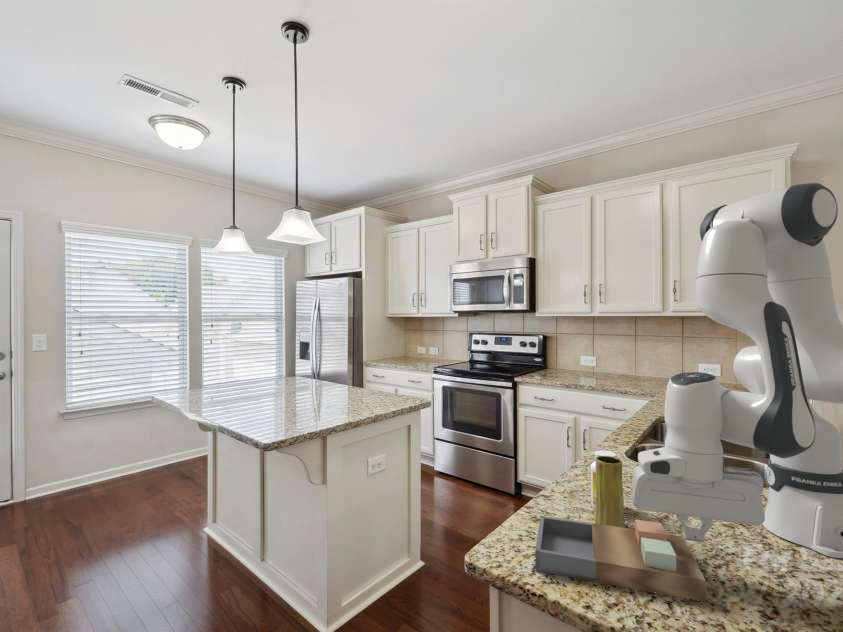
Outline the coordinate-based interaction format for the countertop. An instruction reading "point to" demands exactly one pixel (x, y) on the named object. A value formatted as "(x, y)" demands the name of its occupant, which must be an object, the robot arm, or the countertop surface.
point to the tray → (565, 548)
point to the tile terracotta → (649, 530)
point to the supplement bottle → (593, 474)
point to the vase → (609, 492)
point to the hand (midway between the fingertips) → (693, 539)
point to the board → (627, 568)
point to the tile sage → (658, 554)
